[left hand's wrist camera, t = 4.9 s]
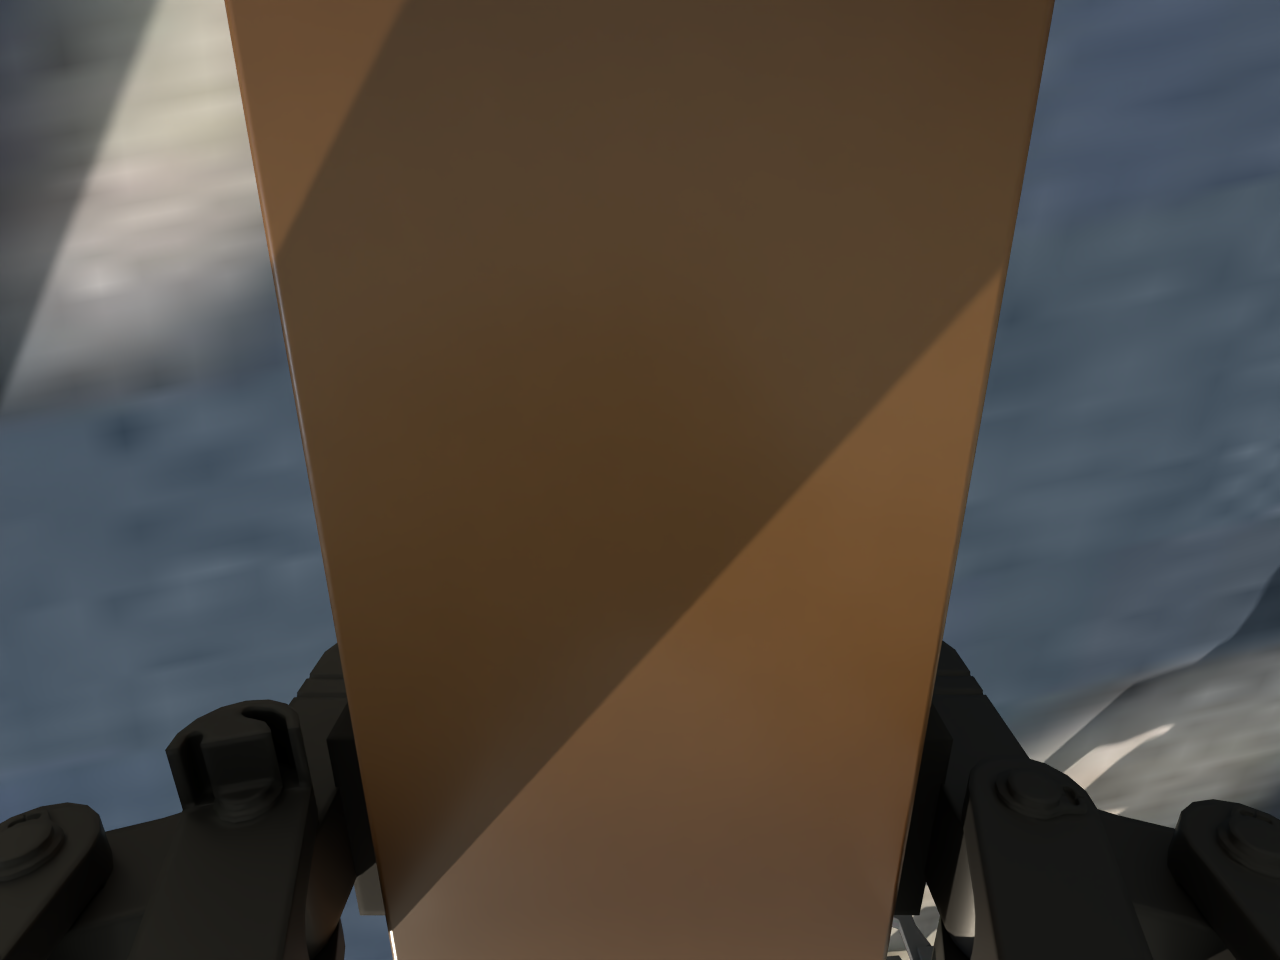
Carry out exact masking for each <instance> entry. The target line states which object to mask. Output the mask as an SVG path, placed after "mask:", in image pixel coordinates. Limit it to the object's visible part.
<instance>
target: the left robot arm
mask: <svg viewBox="0 0 1280 960" xmlns="http://www.w3.org/2000/svg"><path fill="white" fill-rule="evenodd" d="M165 751H166V754H167V758H168V761H169V764H170V768H171V771H172V775H173V778H174V781H175V785H176V788H177V791H178V795H179V798H180V802H181V805H182V808H183V811H182V812H181V813H178V814H175V815H172V816H168V817H165V818H162V819H157V820H153V821H149V822H145V823H140V824H136V825H132V826H128V827H124V828H119V829H115V830H111V831H107V832H105V830H104V827H103V825H102V822H101V819H100V816H99V814H97V813H96V812H95V811H94V810H93V809H91V808H90V807H89V806H88V805H82V804H75V803H68V802H67V803H61V804H54V805H48V806H42V807H39V808H36V809H33V810H30V811H28V812H25V813H22V814H19V815H17V816H14V817H11V818H9V819H8V820H6V821H4V822H2V823H0V960H344V954H345V942H344V935H343V929H342V924H341V919H340V916H341V914H342V912H343V909H344V907H345V904H346V902H347V899H348V897H349V895H350V892H351V890H352V887H353V885H354V886H355V891H356V896H357V902H358V907H359V912H360V915H385V910H384V904H383V898H382V893H381V887H380V881H379V876H378V870H377V864H376V858H375V853H374V847H373V841H372V836H371V830H370V824H369V819H368V813H367V807H366V802H365V796H364V790H363V785H362V779H361V773H360V768H359V762H358V756H357V751H356V745H355V739H354V734H353V728H352V722H351V716H350V711H349V705H348V699H347V694H346V688H345V682H344V677H343V671H342V665H341V660H340V654H339V648H338V643H336V644H335V645H334V646H332V647H331V648H330V649H328V650H327V651H326V652H325V653H324V654H323V655H322V657H321V658H320V660H319V661H318V663H317V664H316V666H315V667H314V669H313V670H312V672H311V673H310V678H309V679H306V680H305V682H304V683H303V685H302V686H301V688H300V689H299V691H298V692H297V697H294V698H293V700H292V701H291V703H290V704H289V705H288V704H285V703H281V702H277V701H273V700H250V701H243V702H239V703H236V704H232V705H228V706H224V707H221V708H219V709H216V710H214V711H212V712H210V713H208V714H206V715H204V716H202V717H200V718H197V719H196V720H195V721H193V722H192V723H191V724H189V725H188V726H187V727H185V728H184V729H183V730H181V731H180V732H179V733H178V734H177V735H176V736H175V738H174V739H173V740H172V742H171V743H170V744H169V746H168V747H167V749H166V750H165ZM926 882H927V885H928V887H929V890H930V892H931V895H932V897H933V899H934V902H935V904H936V907H937V909H938V911H939V914H940V919H939V924H938V929H937V933H936V938H935V943H934V948H933V953H932V957H931V960H1280V820H1279V819H1277V818H1275V817H1273V816H1272V815H1270V814H1267V813H1265V812H1262V811H1259V810H1256V809H1254V808H1251V807H1248V806H1245V805H1242V804H1240V803H1234V802H1227V801H1221V800H1214V799H1212V800H1204V801H1197V802H1192V803H1191V804H1190V805H1189V806H1188V807H1186V808H1185V809H1184V810H1183V811H1182V812H1181V814H1180V817H1179V820H1178V823H1177V826H1176V828H1175V829H1174V828H1169V827H1165V826H1161V825H1157V824H1152V823H1148V822H1144V821H1140V820H1135V819H1131V818H1127V817H1123V816H1118V815H1115V814H1112V813H1108V812H1105V811H1102V810H1099V809H1097V808H1096V806H1095V805H1094V803H1093V801H1092V800H1091V798H1090V797H1089V795H1088V794H1087V792H1086V791H1085V790H1084V789H1083V788H1082V787H1080V786H1079V785H1078V784H1077V783H1076V782H1075V781H1073V780H1072V779H1071V778H1070V777H1069V776H1068V775H1066V774H1064V773H1062V772H1060V771H1058V770H1056V769H1054V768H1053V767H1051V766H1049V765H1047V764H1045V763H1042V762H1039V761H1035V760H1032V759H1029V757H1028V756H1027V754H1026V753H1025V751H1024V750H1023V748H1022V747H1021V745H1020V744H1019V742H1018V741H1017V740H1016V738H1015V737H1014V735H1013V734H1012V732H1011V731H1010V729H1009V728H1008V726H1007V725H1006V723H1005V722H1004V721H1003V719H1002V718H1001V716H1000V715H999V713H998V712H997V710H996V709H995V707H994V706H993V704H992V703H991V702H990V700H989V699H988V697H987V696H986V695H983V690H982V688H981V687H980V685H979V684H978V683H977V681H976V680H975V678H974V677H973V676H970V671H969V669H968V668H967V666H966V665H965V664H964V662H963V661H962V659H961V658H960V656H959V655H958V653H957V652H956V650H955V649H953V648H952V647H951V646H949V645H948V644H947V643H945V642H944V641H942V645H941V650H940V656H939V662H938V667H937V673H936V679H935V684H934V690H933V696H932V701H931V707H930V713H929V719H928V724H927V730H926V736H925V741H924V747H923V753H922V758H921V764H920V770H919V775H918V781H917V787H916V792H915V798H914V804H913V810H912V815H911V821H910V827H909V832H908V838H907V844H906V849H905V855H904V861H903V866H902V872H901V878H900V883H899V889H898V895H897V900H896V906H895V912H894V915H920V909H921V904H922V899H923V894H924V889H925V884H926Z"/></svg>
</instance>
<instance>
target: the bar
mask: <svg viewBox="0 0 1280 960" xmlns="http://www.w3.org/2000/svg"><path fill="white" fill-rule="evenodd" d="M224 1H225V6H226V12H227V18H228V24H229V29H230V35H231V41H232V46H233V52H234V58H235V63H236V69H237V75H238V80H239V86H240V92H241V97H242V103H243V109H244V114H245V120H246V126H247V131H248V137H249V143H250V148H251V154H252V160H253V166H254V171H255V177H256V183H257V188H258V194H259V200H260V205H261V211H262V217H263V222H264V228H265V234H266V239H267V245H268V251H269V256H270V262H271V268H272V273H273V279H274V285H275V290H276V296H277V302H278V308H279V313H280V319H281V325H282V330H283V336H284V342H285V347H286V353H287V359H288V364H289V370H290V376H291V381H292V387H293V393H294V398H295V404H296V410H297V415H298V421H299V427H300V432H301V438H302V444H303V450H304V455H305V461H306V467H307V472H308V478H309V484H310V489H311V495H312V501H313V506H314V512H315V518H316V523H317V529H318V535H319V540H320V546H321V552H322V557H323V563H324V569H325V574H326V580H327V586H328V592H329V597H330V603H331V609H332V614H333V620H334V626H335V631H336V637H337V643H338V648H339V654H340V660H341V665H342V671H343V677H344V682H345V688H346V694H347V699H348V705H349V711H350V716H351V722H352V728H353V734H354V739H355V745H356V751H357V756H358V762H359V768H360V773H361V779H362V785H363V790H364V796H365V802H366V807H367V813H368V819H369V824H370V830H371V836H372V841H373V847H374V853H375V858H376V864H377V870H378V876H379V881H380V887H381V893H382V898H383V904H384V910H385V915H386V921H387V927H388V932H389V938H390V944H391V949H392V955H393V960H886V957H887V952H888V946H889V940H890V935H891V929H892V923H893V918H894V912H895V906H896V900H897V895H898V889H899V883H900V878H901V872H902V866H903V861H904V855H905V849H906V844H907V838H908V832H909V827H910V821H911V815H912V810H913V804H914V798H915V792H916V787H917V781H918V775H919V770H920V764H921V758H922V753H923V747H924V741H925V736H926V730H927V724H928V719H929V713H930V707H931V701H932V696H933V690H934V684H935V679H936V673H937V667H938V662H939V656H940V650H941V645H942V639H943V633H944V628H945V622H946V616H947V611H948V605H949V599H950V593H951V588H952V582H953V576H954V571H955V565H956V559H957V554H958V548H959V542H960V537H961V531H962V525H963V520H964V514H965V508H966V503H967V497H968V491H969V485H970V480H971V474H972V468H973V463H974V457H975V451H976V446H977V440H978V434H979V429H980V423H981V417H982V412H983V406H984V400H985V394H986V389H987V383H988V377H989V372H990V366H991V360H992V355H993V349H994V343H995V338H996V332H997V326H998V321H999V315H1000V309H1001V304H1002V298H1003V292H1004V286H1005V281H1006V275H1007V269H1008V264H1009V258H1010V252H1011V247H1012V241H1013V235H1014V230H1015V224H1016V218H1017V213H1018V207H1019V201H1020V195H1021V190H1022V184H1023V178H1024V173H1025V167H1026V161H1027V156H1028V150H1029V144H1030V139H1031V133H1032V127H1033V122H1034V116H1035V110H1036V105H1037V99H1038V93H1039V87H1040V82H1041V76H1042V70H1043V65H1044V59H1045V53H1046V48H1047V42H1048V36H1049V31H1050V25H1051V19H1052V14H1053V8H1054V2H1055V0H224Z"/></svg>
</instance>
